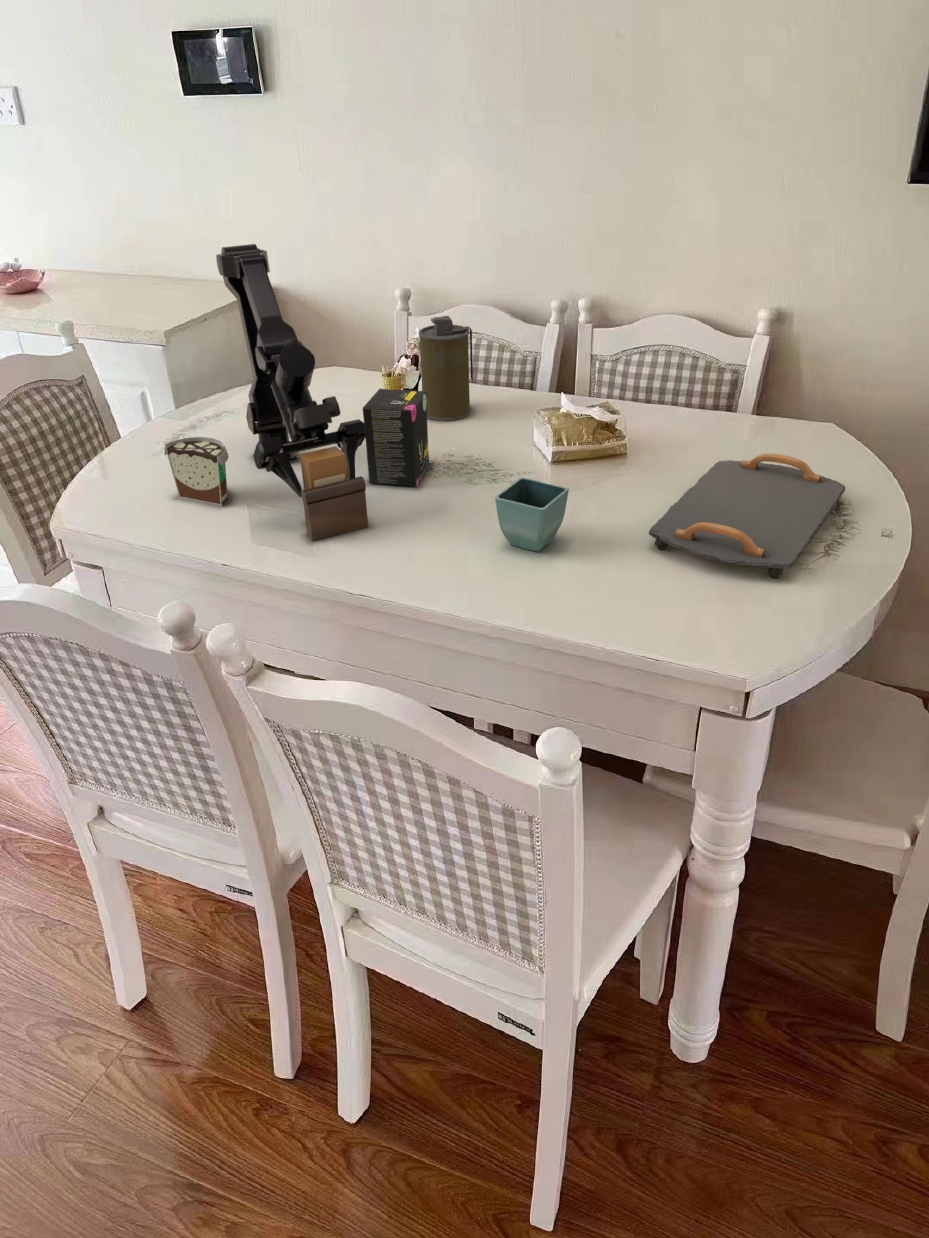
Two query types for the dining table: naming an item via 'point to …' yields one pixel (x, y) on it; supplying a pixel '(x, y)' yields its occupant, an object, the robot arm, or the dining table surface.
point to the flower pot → (531, 512)
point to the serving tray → (750, 513)
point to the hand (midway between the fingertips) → (328, 490)
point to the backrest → (335, 508)
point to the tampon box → (396, 437)
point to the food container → (199, 469)
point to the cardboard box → (323, 467)
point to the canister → (446, 369)
